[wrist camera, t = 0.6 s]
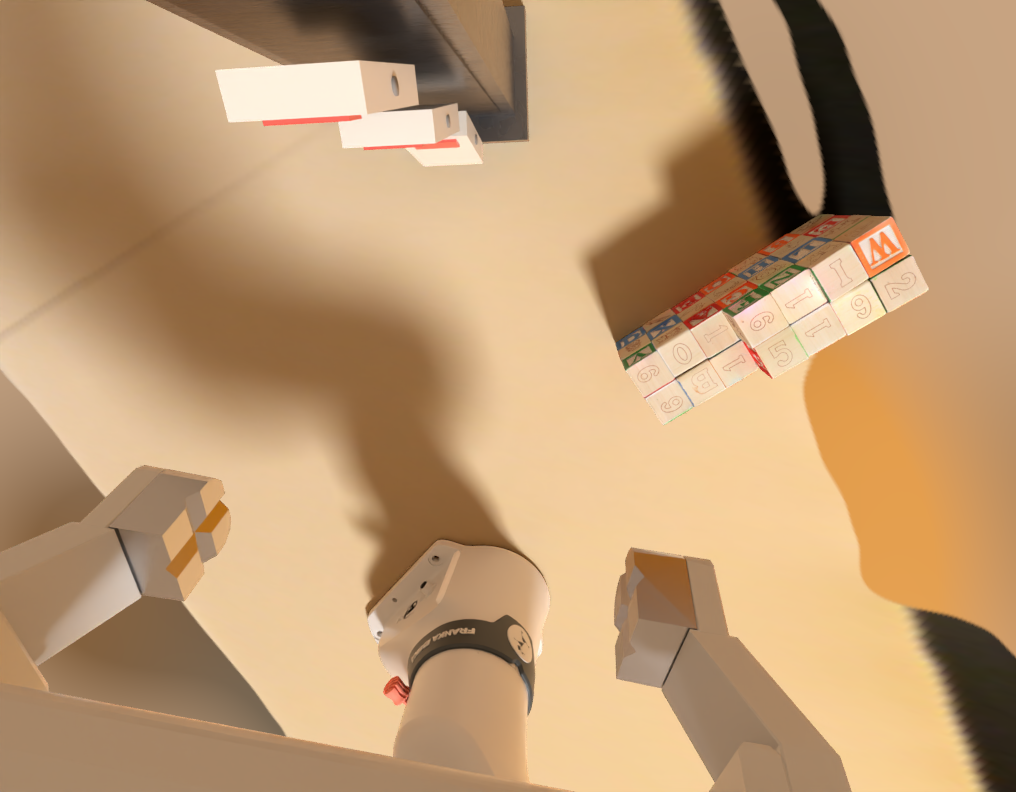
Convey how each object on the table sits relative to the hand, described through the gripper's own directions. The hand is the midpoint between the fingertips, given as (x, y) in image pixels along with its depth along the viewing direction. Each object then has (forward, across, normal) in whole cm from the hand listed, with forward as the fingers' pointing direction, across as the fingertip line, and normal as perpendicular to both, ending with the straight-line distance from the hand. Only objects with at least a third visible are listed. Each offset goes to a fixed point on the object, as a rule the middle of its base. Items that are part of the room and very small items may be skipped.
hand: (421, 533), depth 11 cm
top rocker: (+21, -8, +5) cm, 23 cm away
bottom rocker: (+42, -8, -2) cm, 43 cm away
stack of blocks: (+45, +18, -13) cm, 50 cm away
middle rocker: (+32, -8, +2) cm, 33 cm away
